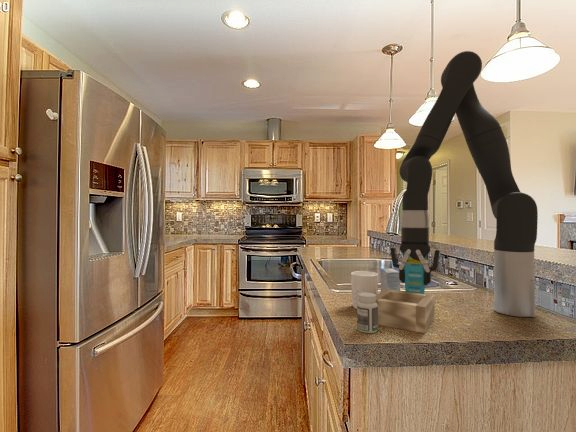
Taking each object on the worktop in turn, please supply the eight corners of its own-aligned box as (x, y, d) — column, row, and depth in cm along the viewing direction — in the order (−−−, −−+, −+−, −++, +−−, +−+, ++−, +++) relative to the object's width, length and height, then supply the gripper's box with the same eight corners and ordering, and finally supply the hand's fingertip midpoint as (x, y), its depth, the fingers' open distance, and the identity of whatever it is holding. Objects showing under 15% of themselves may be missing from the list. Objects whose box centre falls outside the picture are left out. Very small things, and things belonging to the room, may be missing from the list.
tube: (401, 308, 95) (401, 242, 95) (401, 304, 99) (401, 241, 99) (429, 311, 92) (429, 243, 92) (427, 306, 97) (427, 241, 97)
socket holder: (434, 318, 86) (434, 295, 86) (424, 333, 75) (425, 307, 75) (385, 310, 93) (385, 289, 93) (369, 323, 82) (369, 299, 82)
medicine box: (400, 299, 106) (400, 272, 106) (386, 299, 106) (386, 272, 106) (393, 293, 113) (393, 268, 113) (380, 293, 114) (380, 268, 114)
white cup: (345, 307, 96) (345, 273, 96) (359, 302, 102) (359, 270, 102) (369, 313, 90) (369, 277, 90) (383, 307, 96) (383, 273, 96)
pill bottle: (375, 326, 79) (375, 292, 79) (380, 333, 75) (380, 296, 75) (355, 326, 80) (355, 291, 79) (359, 333, 75) (359, 296, 75)
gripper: (443, 226, 95) (443, 284, 95) (393, 225, 103) (393, 278, 103) (439, 227, 89) (439, 289, 89) (386, 225, 96) (386, 283, 97)
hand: (414, 283), depth 96 cm, fingers closed on tube, 6 cm apart
